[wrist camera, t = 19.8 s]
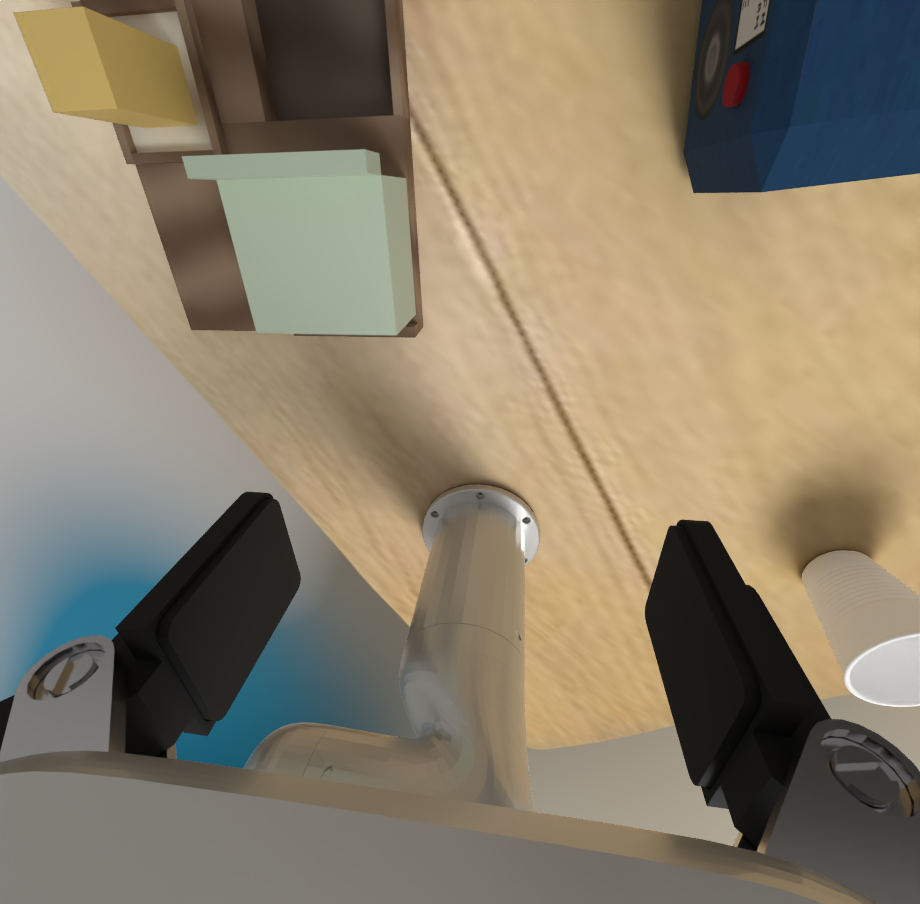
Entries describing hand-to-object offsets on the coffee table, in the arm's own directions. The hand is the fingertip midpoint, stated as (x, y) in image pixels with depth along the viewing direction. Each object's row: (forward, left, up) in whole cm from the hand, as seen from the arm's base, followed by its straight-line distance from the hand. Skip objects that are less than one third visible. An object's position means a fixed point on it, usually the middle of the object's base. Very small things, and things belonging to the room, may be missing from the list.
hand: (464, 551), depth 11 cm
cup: (-26, -34, -28) cm, 51 cm away
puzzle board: (+11, +17, -28) cm, 35 cm away
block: (+14, +23, -26) cm, 38 cm away
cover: (+5, +12, -26) cm, 29 cm away
